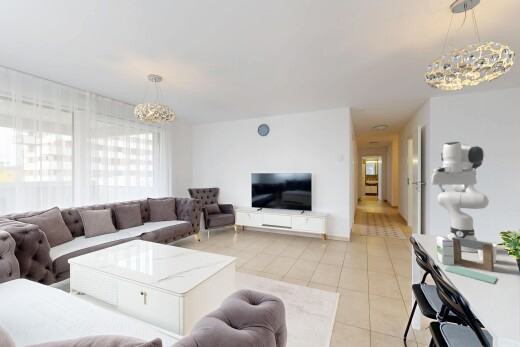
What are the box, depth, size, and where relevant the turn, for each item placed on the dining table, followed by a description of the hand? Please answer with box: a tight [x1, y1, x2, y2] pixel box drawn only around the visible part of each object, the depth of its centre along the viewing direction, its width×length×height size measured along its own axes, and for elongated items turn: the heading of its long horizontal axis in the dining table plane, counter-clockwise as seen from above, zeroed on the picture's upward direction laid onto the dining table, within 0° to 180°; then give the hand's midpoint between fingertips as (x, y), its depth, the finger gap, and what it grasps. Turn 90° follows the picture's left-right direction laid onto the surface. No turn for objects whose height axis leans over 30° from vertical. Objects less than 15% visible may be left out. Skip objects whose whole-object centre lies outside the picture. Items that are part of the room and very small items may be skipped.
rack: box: [453, 240, 495, 273], centre depth 122 cm, size 7×16×13 cm, turn 36°
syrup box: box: [436, 236, 455, 266], centre depth 126 cm, size 6×6×14 cm
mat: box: [444, 265, 498, 285], centre depth 112 cm, size 9×18×1 cm, turn 36°
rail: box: [452, 237, 493, 252], centre depth 123 cm, size 3×16×4 cm, turn 36°
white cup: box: [477, 243, 498, 264], centre depth 128 cm, size 8×8×10 cm
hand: (453, 192), depth 128 cm, fingers open, 8 cm apart
